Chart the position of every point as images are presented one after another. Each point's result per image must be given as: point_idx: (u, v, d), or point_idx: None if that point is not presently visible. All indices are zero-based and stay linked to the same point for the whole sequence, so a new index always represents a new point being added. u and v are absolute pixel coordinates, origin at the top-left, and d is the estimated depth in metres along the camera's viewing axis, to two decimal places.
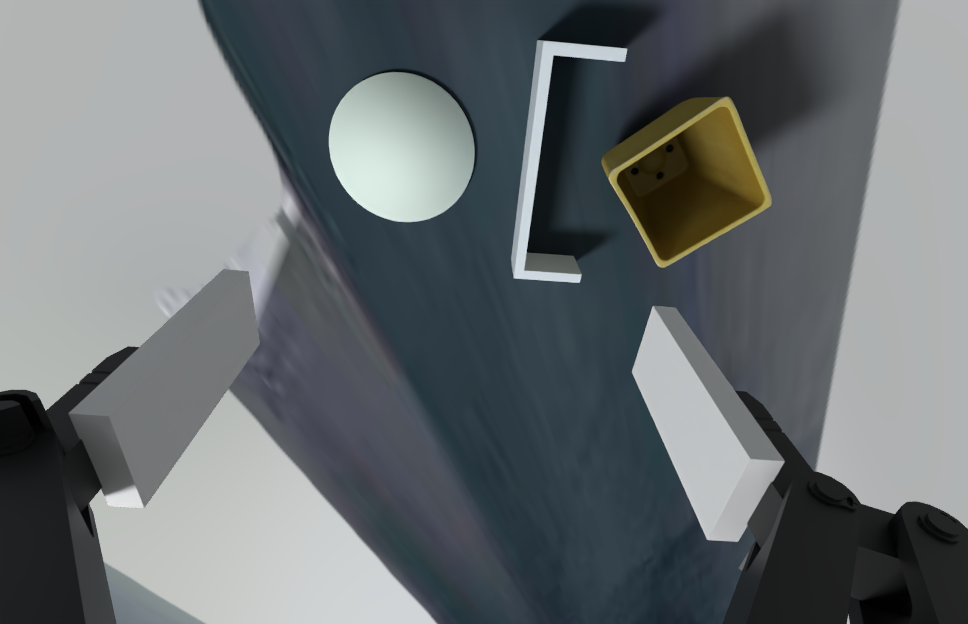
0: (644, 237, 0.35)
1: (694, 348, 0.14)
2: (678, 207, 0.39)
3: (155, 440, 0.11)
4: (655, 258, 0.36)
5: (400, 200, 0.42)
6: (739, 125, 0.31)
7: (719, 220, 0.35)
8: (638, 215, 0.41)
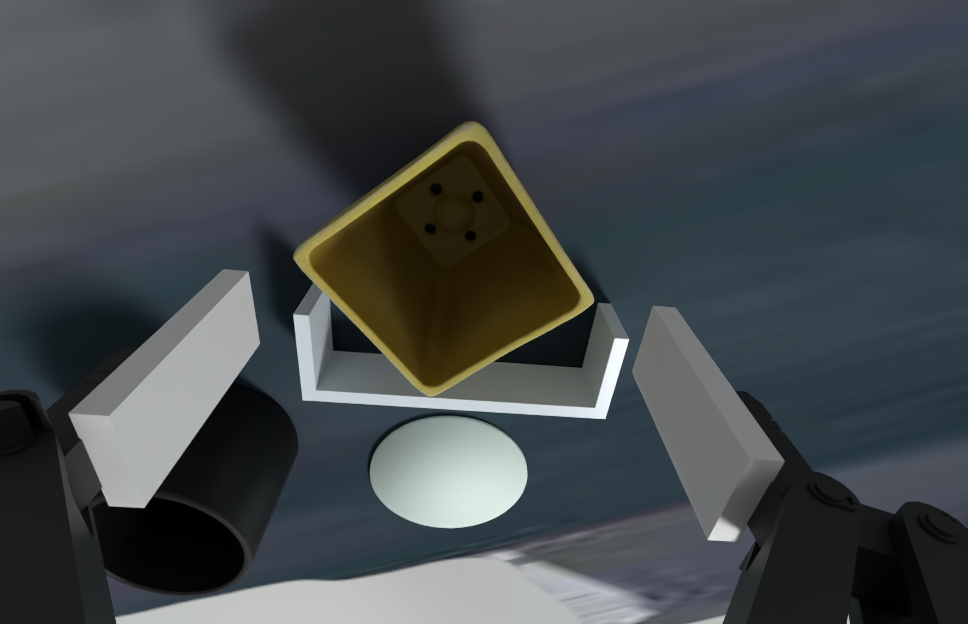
0: (531, 338, 0.20)
1: (694, 348, 0.14)
2: (515, 198, 0.23)
3: (155, 440, 0.11)
4: (573, 315, 0.20)
5: (501, 481, 0.37)
6: (333, 229, 0.18)
7: None
8: (531, 247, 0.25)
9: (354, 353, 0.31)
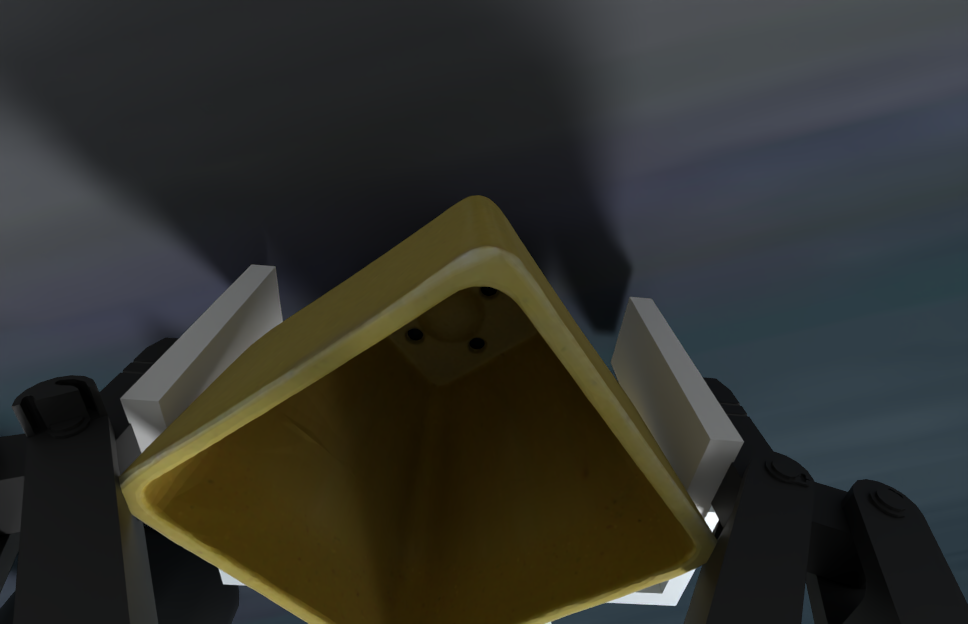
0: (593, 604, 0.11)
1: (666, 336, 0.14)
2: None
3: None
4: (676, 575, 0.10)
5: None
6: (184, 454, 0.08)
7: None
8: None
9: None
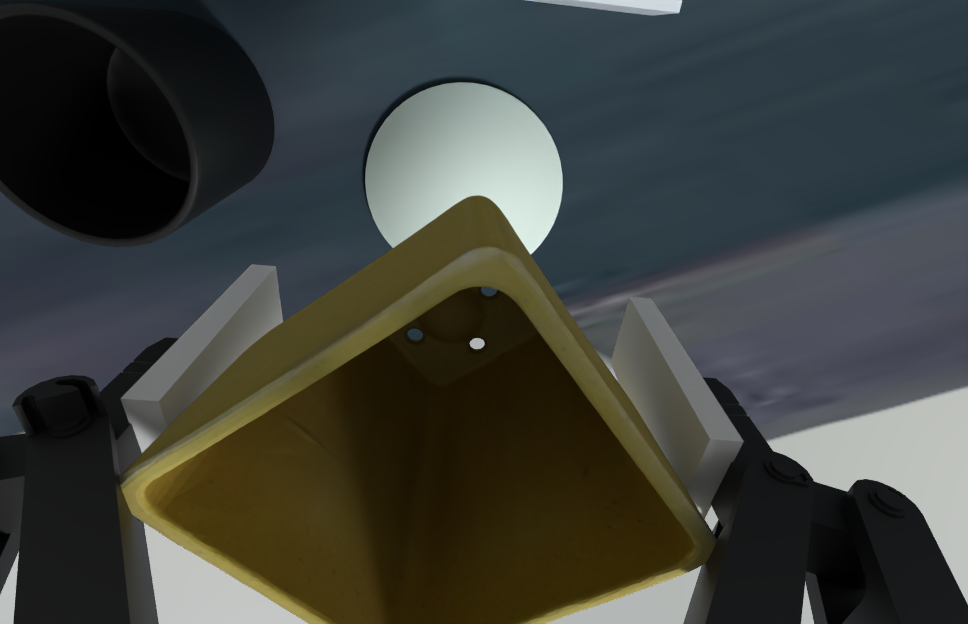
0: (593, 604, 0.11)
1: (666, 336, 0.14)
2: None
3: None
4: (676, 575, 0.10)
5: (530, 199, 0.30)
6: (184, 454, 0.08)
7: None
8: None
9: None
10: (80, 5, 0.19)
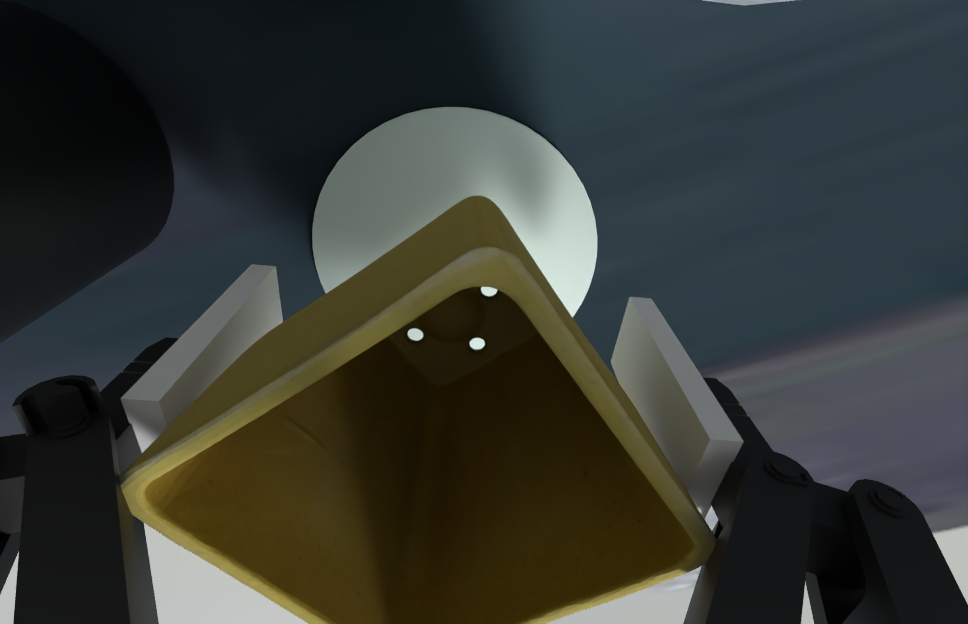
0: (593, 604, 0.11)
1: (666, 336, 0.14)
2: None
3: None
4: (676, 575, 0.10)
5: (550, 270, 0.21)
6: (184, 454, 0.08)
7: None
8: None
9: None
10: None
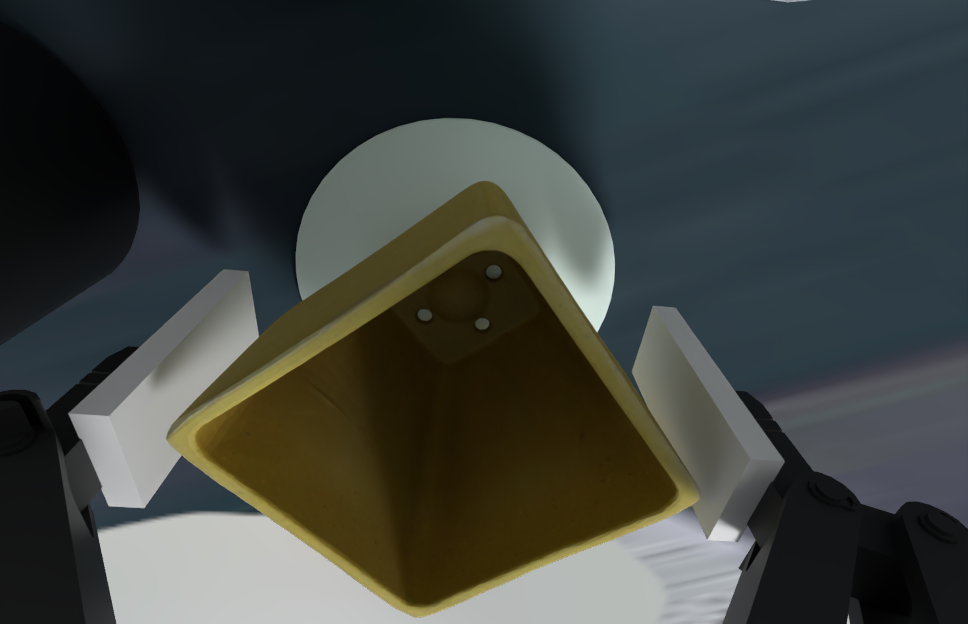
0: (588, 546, 0.12)
1: (694, 348, 0.14)
2: None
3: (155, 440, 0.11)
4: (662, 518, 0.12)
5: None
6: (232, 400, 0.10)
7: None
8: (573, 351, 0.17)
9: None
10: None
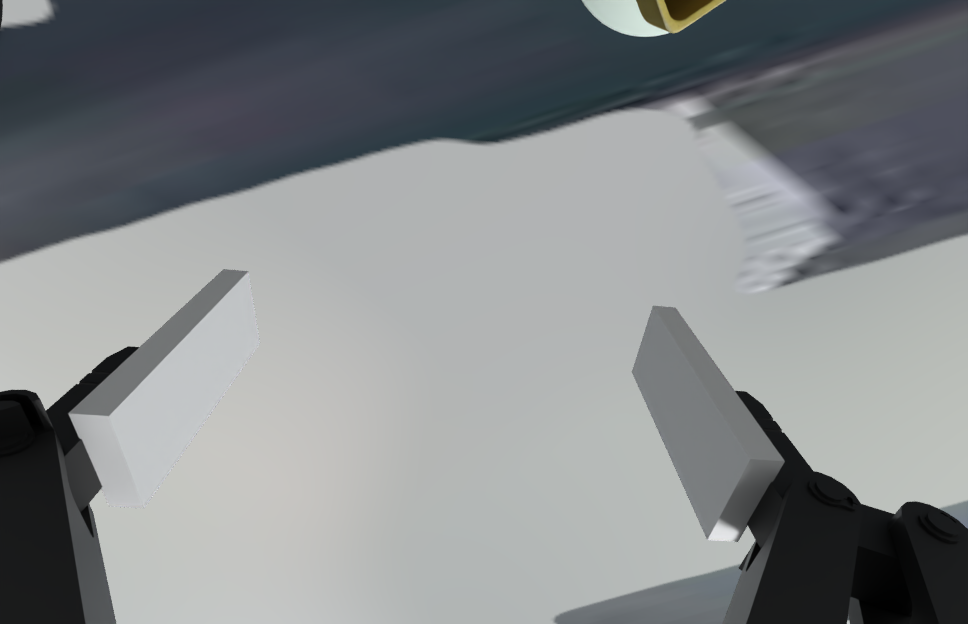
0: None
1: (694, 348, 0.14)
2: None
3: (155, 440, 0.11)
4: None
5: None
6: None
7: None
8: None
9: None
10: None
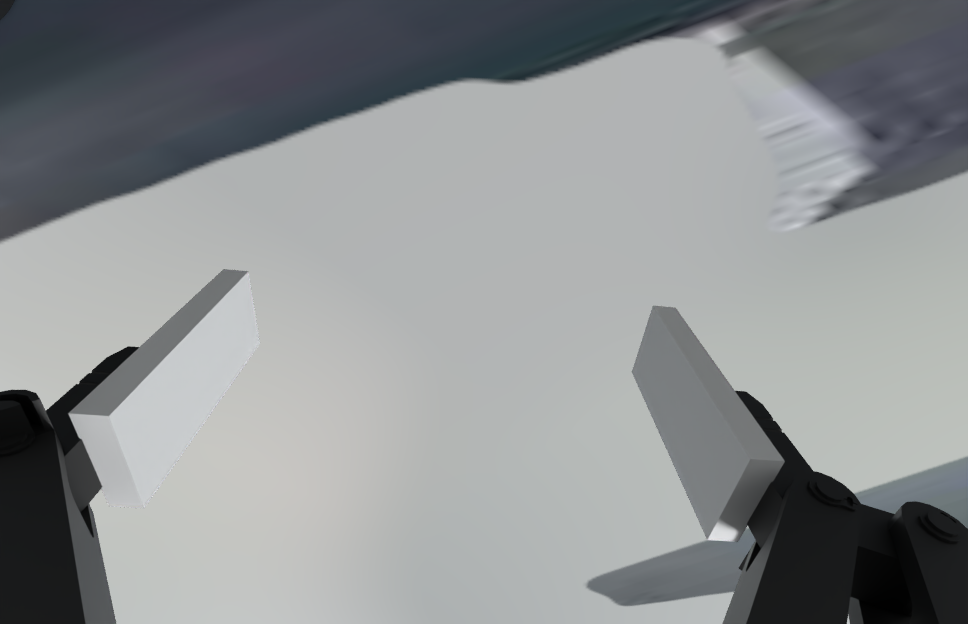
0: None
1: (694, 348, 0.14)
2: None
3: (155, 440, 0.11)
4: None
5: None
6: None
7: None
8: None
9: None
10: None
